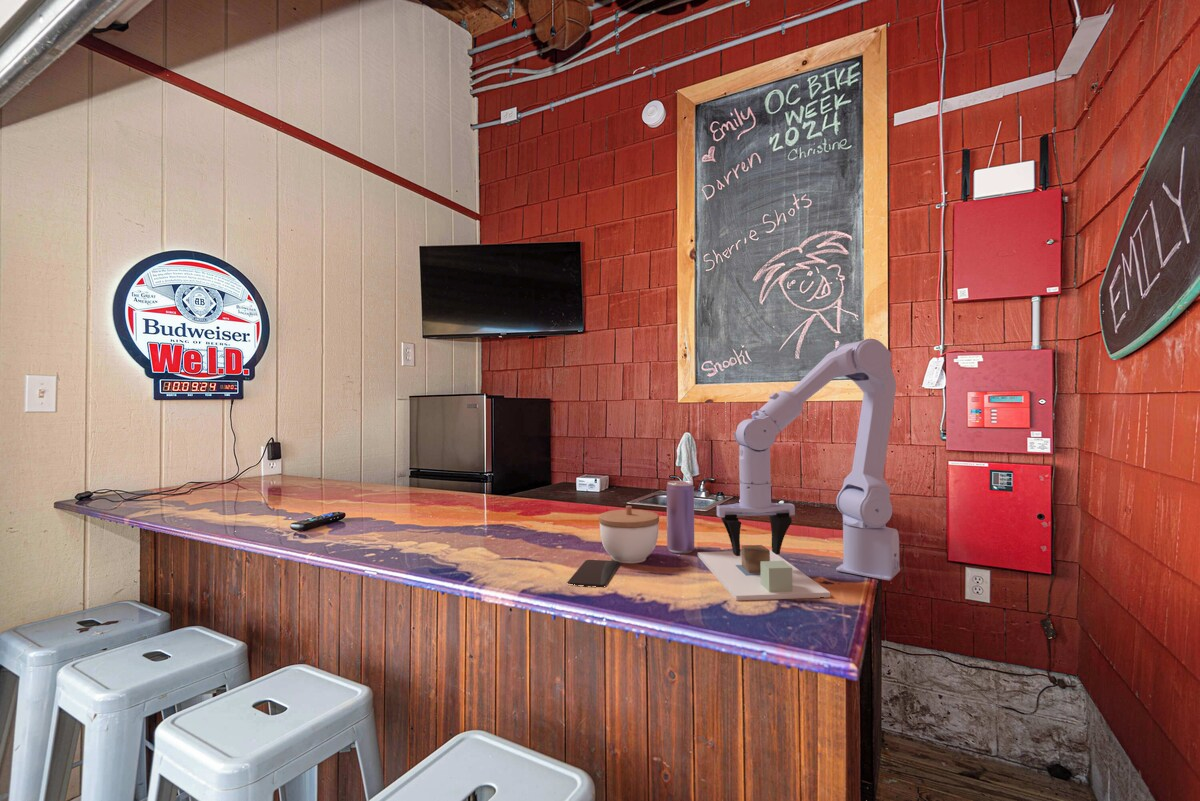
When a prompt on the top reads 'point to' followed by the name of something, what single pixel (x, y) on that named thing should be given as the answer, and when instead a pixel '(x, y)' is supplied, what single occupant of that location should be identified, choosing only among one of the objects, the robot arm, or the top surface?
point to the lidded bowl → (629, 534)
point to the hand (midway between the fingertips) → (756, 553)
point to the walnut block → (754, 557)
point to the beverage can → (680, 516)
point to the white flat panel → (756, 578)
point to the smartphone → (594, 573)
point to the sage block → (776, 576)
